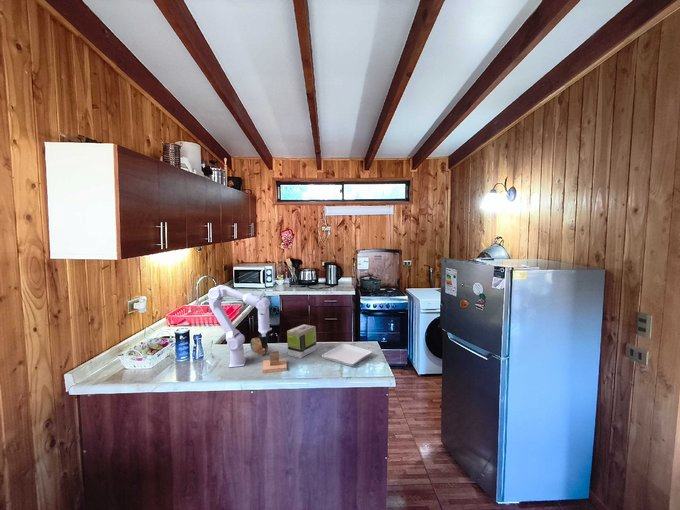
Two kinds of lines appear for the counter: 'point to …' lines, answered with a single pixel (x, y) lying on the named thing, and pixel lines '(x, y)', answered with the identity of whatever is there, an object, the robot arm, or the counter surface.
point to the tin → (258, 346)
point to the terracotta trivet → (277, 368)
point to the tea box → (301, 340)
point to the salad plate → (347, 354)
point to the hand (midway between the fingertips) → (264, 345)
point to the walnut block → (274, 358)
